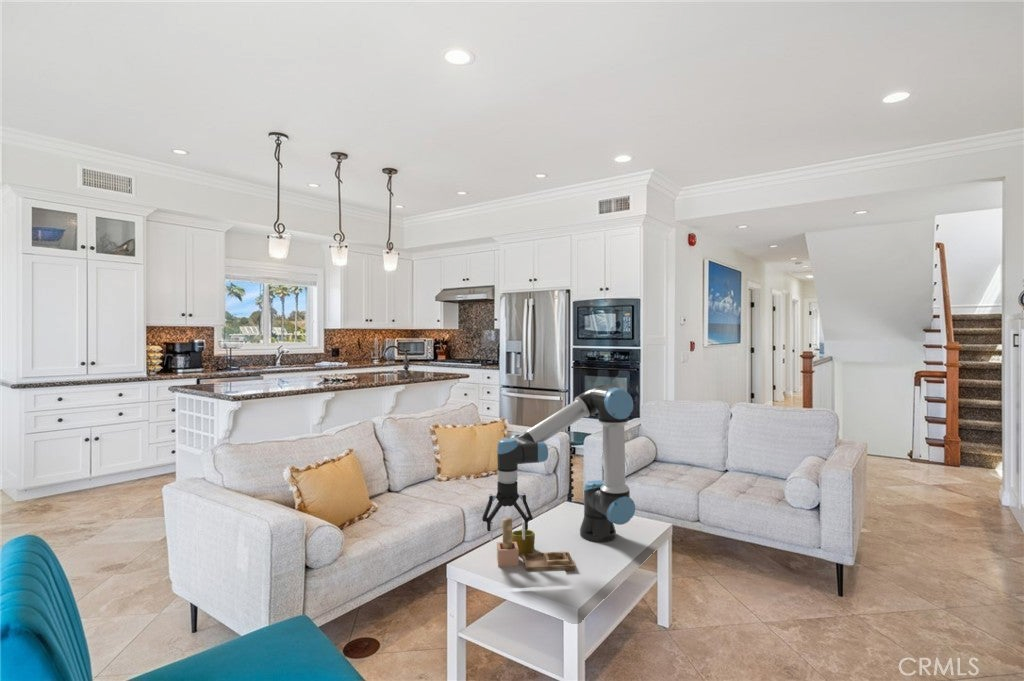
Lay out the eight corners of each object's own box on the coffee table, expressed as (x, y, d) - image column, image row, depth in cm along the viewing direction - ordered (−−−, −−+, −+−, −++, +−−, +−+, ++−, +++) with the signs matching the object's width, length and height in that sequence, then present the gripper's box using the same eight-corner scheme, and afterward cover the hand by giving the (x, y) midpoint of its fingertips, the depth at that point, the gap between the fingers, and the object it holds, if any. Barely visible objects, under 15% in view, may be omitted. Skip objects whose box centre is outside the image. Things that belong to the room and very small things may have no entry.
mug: (536, 555, 205) (529, 528, 207) (511, 561, 207) (504, 535, 209) (543, 549, 216) (536, 523, 219) (519, 555, 218) (513, 529, 221)
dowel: (511, 559, 203) (511, 517, 203) (512, 563, 199) (512, 520, 199) (502, 560, 203) (502, 517, 202) (503, 564, 199) (503, 521, 199)
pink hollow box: (516, 559, 205) (516, 541, 205) (518, 568, 198) (518, 549, 197) (496, 560, 204) (496, 542, 204) (498, 569, 197) (498, 550, 197)
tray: (568, 557, 207) (568, 549, 207) (575, 571, 195) (575, 562, 195) (522, 559, 206) (522, 551, 205) (526, 573, 194) (526, 564, 194)
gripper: (537, 477, 205) (537, 533, 206) (475, 478, 203) (475, 536, 203) (540, 482, 198) (540, 541, 198) (475, 484, 196) (475, 544, 196)
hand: (507, 538), depth 201 cm, fingers open, 11 cm apart
